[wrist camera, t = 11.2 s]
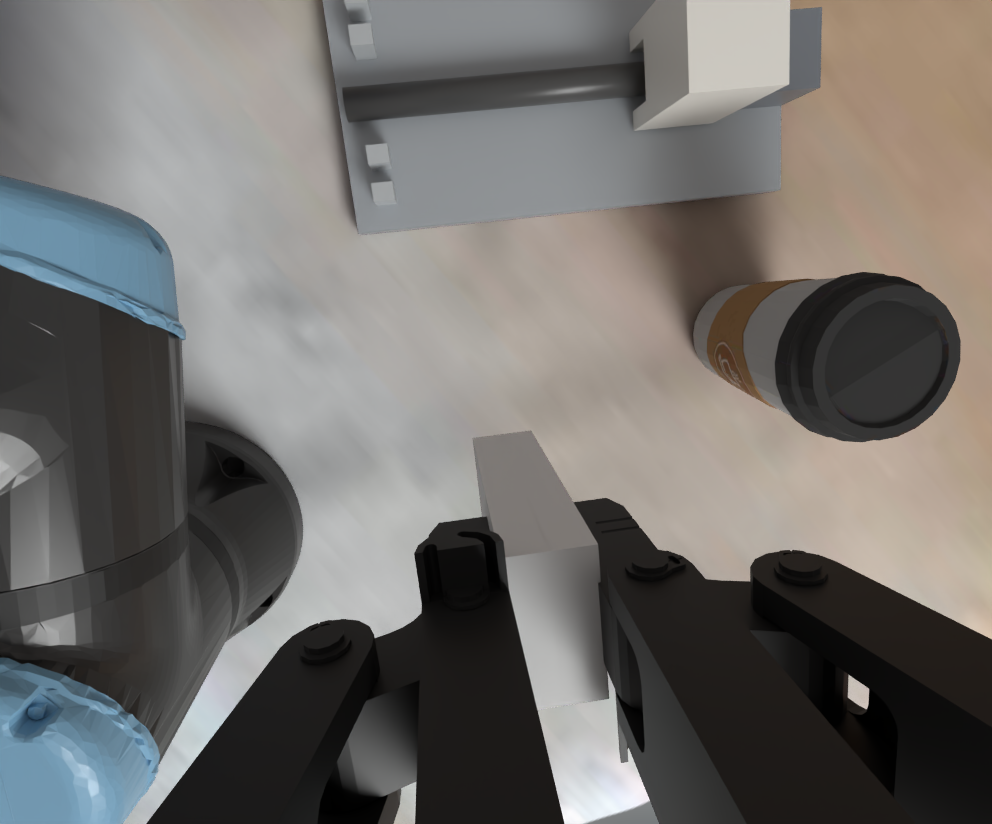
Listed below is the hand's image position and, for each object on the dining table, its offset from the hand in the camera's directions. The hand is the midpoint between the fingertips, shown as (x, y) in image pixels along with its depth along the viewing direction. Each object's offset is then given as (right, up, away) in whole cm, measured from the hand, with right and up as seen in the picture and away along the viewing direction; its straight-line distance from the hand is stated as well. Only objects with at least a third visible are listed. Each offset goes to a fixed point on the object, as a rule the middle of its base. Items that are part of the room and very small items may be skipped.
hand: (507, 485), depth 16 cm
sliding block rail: (+4, +22, +22) cm, 31 cm away
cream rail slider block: (+10, +22, +21) cm, 32 cm away
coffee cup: (+16, +8, +27) cm, 33 cm away
